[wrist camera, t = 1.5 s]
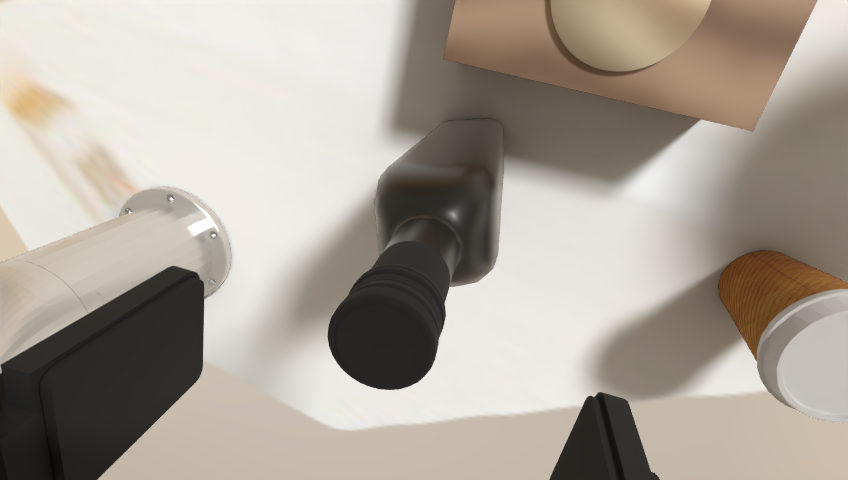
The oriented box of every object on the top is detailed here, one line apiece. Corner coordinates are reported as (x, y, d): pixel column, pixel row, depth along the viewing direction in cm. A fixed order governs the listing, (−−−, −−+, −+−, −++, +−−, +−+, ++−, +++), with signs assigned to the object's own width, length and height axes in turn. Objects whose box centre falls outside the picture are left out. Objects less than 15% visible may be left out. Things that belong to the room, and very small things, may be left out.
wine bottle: (440, 184, 41) (297, 423, 14) (437, 120, 39) (262, 247, 12) (503, 183, 40) (488, 438, 13) (503, 117, 38) (484, 248, 11)
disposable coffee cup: (803, 336, 40) (913, 438, 29) (687, 325, 42) (750, 418, 31) (838, 235, 37) (978, 308, 26) (711, 228, 38) (792, 293, 27)
